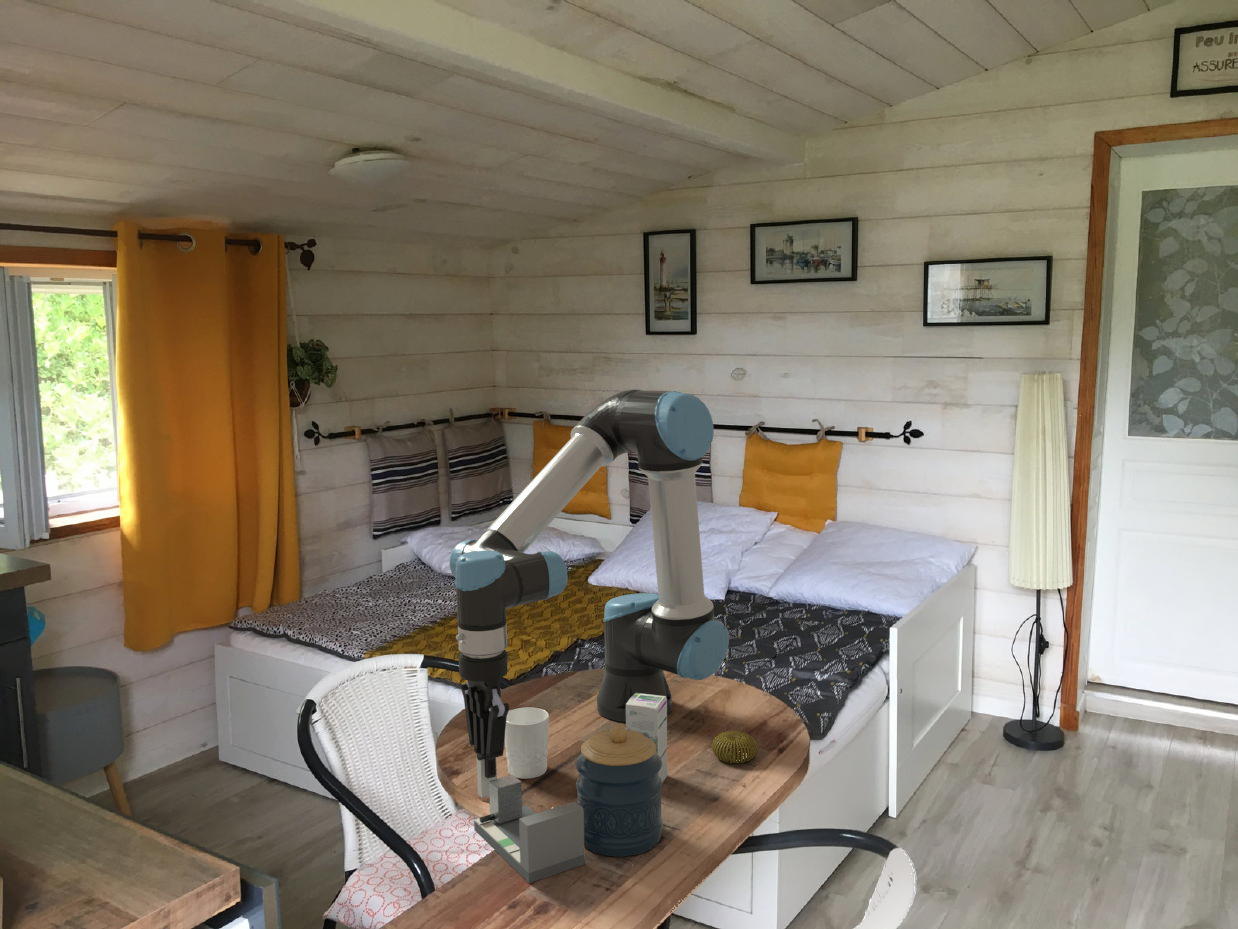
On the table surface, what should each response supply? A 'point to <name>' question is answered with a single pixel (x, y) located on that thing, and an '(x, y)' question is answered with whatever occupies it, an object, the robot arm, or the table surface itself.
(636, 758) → the canister
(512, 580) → the robot arm
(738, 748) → the green sea urchin shell
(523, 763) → the white cup
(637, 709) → the syrup box
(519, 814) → the block
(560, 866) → the gauge base
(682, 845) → the table surface
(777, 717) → the table surface
